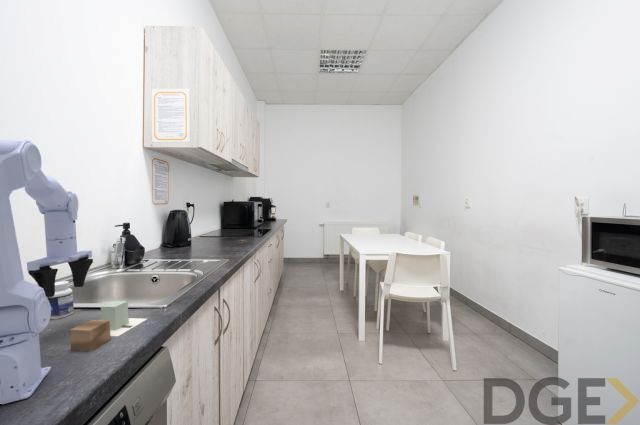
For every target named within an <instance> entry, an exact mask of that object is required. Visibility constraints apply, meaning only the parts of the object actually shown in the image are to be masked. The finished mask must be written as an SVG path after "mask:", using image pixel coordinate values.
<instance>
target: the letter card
mask: <svg viewBox="0 0 640 425" xmlns="http://www.w3.org/2000/svg"><path fill="white" fill-rule="evenodd" d="M146 320H148V318H143V317H142V318H137V317H135V318H134V317H129V323H128V324H126V325H124V326H123V327H121V328H119V329H117V330H110V336H111V337H119V336H121V335H123V334H124V333H126V332H128V331H130V330H131V329H133V328H135V327H137V326H138V325H140V324H141V323H143V322H145V321H146Z"/></svg>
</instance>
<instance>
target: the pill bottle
mask: <svg viewBox="0 0 640 425" xmlns="http://www.w3.org/2000/svg"><path fill="white" fill-rule="evenodd" d="M47 300H48V301H49V303H50V306H51V316H50V320H57V319H58V320H59V319H63V318H67V317H69V316H71V315H73V314H74V312H75V309H74V308H75V306H74V292H73V289H72V288H71V287H70V281H68V280H63V281H55V294H54V296H53V297H47Z"/></svg>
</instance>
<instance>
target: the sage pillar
mask: <svg viewBox="0 0 640 425" xmlns="http://www.w3.org/2000/svg"><path fill="white" fill-rule="evenodd" d="M100 314H101V315H100V316H101V320H106V321H110V330H117V329H119V328H121V327H123V326H124V325H126V324H128V323H129V318H130V317H129V303H128V300H113V301H111V302H109V303H106V304H104V305H101V306H100Z"/></svg>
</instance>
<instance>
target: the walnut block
mask: <svg viewBox="0 0 640 425" xmlns="http://www.w3.org/2000/svg"><path fill="white" fill-rule="evenodd" d="M111 337H112V336H110V321H106V320H102V319H98V320H97V319H90V320H88V321H85V322H83V323H81V324H79V325H77V326H74V327H73V328H70V329H69V340H70V343H69V344H70V351H84V352H85V351H86V352H92V351H93V350H95V349H97V348H98V347H100V346H102V345H104V344H105V343H108V342H109V341H111V339H112V338H111Z"/></svg>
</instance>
